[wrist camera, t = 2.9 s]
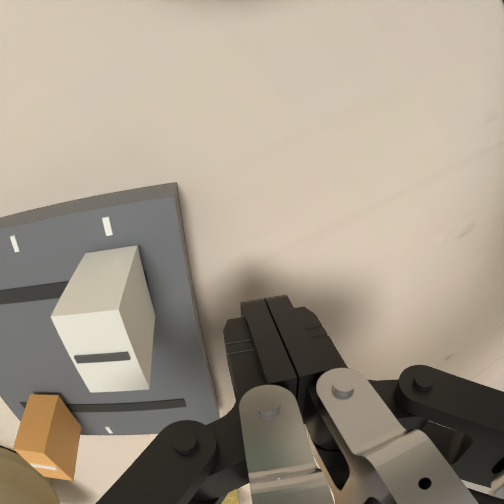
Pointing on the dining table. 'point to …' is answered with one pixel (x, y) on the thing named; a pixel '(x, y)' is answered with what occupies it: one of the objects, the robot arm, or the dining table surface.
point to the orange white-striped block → (49, 437)
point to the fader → (108, 321)
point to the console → (53, 285)
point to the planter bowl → (23, 482)
